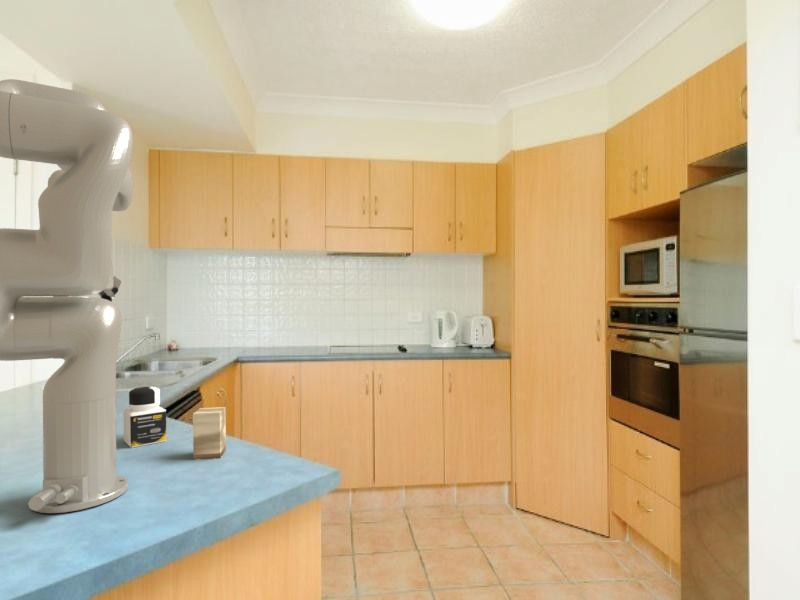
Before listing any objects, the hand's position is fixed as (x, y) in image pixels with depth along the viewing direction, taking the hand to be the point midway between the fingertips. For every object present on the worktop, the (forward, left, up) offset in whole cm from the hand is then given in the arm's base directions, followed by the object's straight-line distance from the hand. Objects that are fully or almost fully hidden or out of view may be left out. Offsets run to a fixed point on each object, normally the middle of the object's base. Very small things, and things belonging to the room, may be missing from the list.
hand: (85, 316), depth 101 cm
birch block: (-12, -28, -28) cm, 42 cm away
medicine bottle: (+1, -11, -28) cm, 31 cm away
